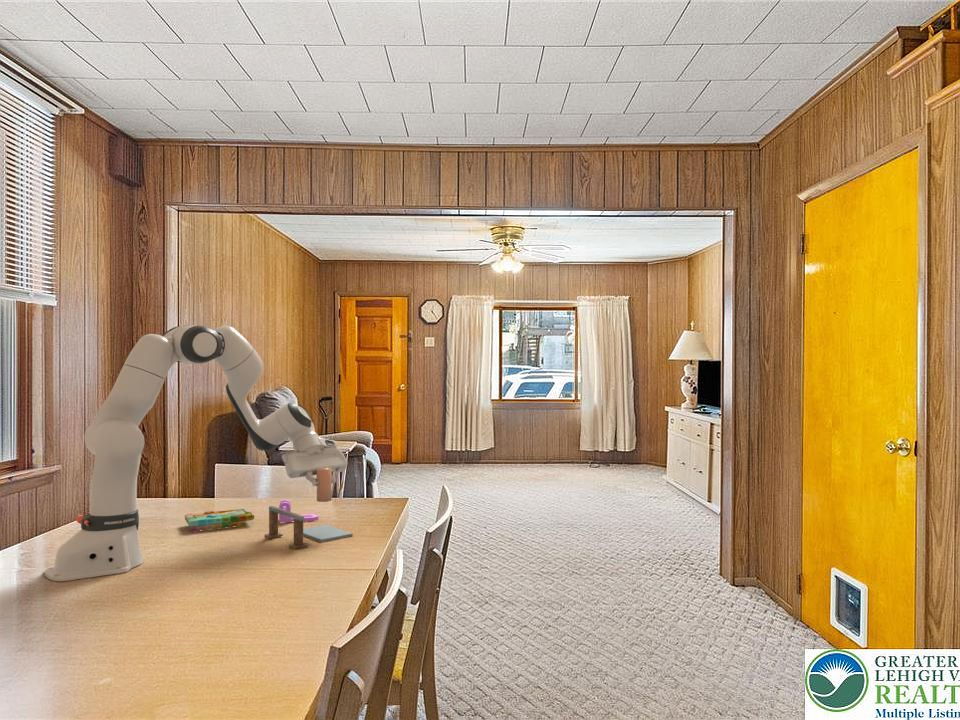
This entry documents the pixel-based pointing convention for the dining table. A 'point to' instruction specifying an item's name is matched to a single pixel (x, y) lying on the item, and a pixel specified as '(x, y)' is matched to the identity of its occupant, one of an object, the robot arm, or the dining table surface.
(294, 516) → the metal bar
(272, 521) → the hurdle posts
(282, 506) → the bracket
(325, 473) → the terracotta cylinder
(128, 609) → the dining table surface
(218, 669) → the dining table surface
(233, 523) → the puzzle game
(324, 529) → the pad
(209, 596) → the dining table surface
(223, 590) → the dining table surface
